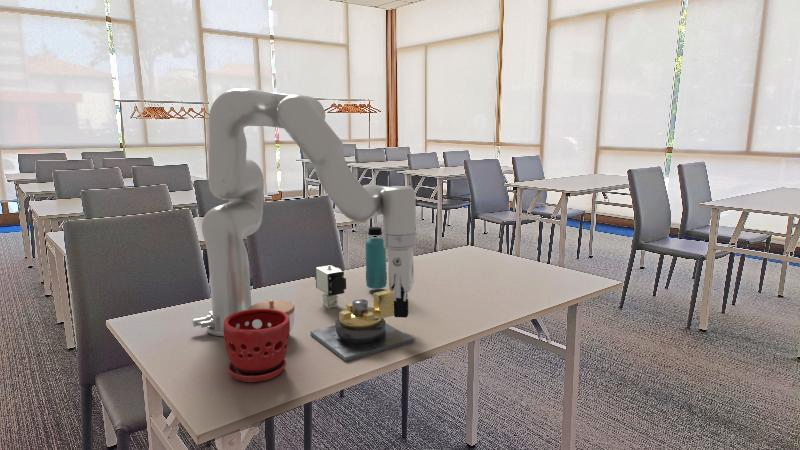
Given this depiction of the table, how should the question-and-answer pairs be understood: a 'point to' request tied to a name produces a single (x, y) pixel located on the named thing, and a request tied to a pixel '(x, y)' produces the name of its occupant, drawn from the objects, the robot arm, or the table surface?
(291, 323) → the lidded jar
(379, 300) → the gold slotted fixture
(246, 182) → the robot arm
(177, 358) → the table surface
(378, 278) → the beverage bottle
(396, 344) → the housing
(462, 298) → the table surface
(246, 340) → the plant pot
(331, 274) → the pneumatic valve
